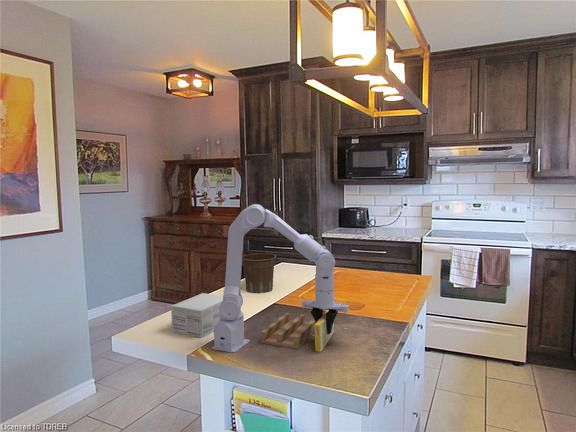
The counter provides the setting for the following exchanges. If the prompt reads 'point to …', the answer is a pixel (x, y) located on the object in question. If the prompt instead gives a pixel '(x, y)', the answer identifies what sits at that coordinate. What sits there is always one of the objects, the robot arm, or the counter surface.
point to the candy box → (322, 333)
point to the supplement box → (196, 315)
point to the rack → (288, 331)
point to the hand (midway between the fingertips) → (324, 332)
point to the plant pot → (259, 272)
